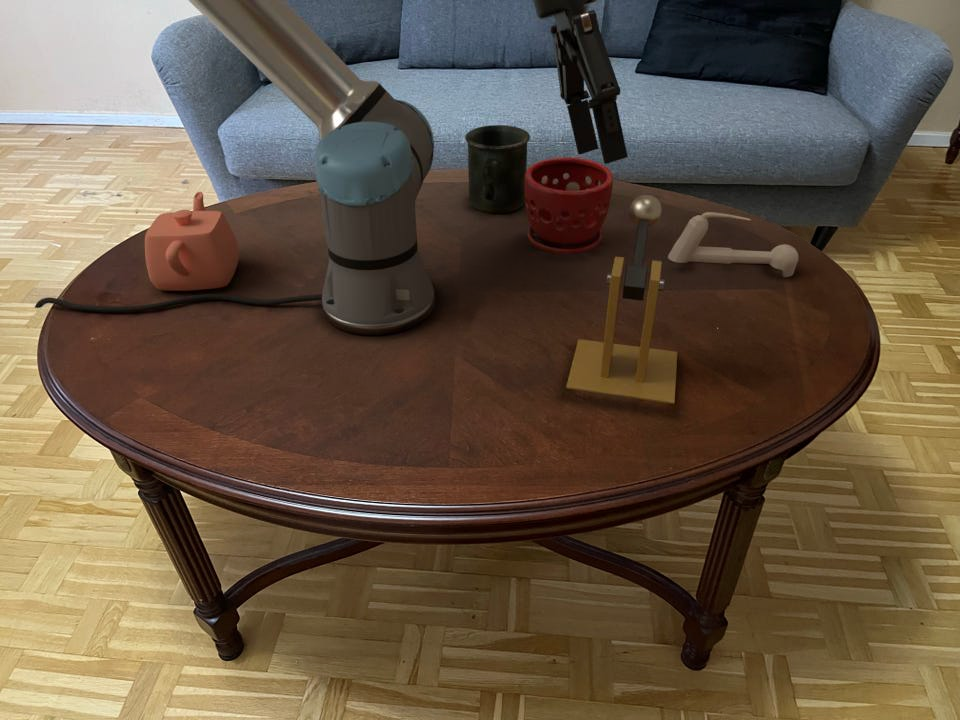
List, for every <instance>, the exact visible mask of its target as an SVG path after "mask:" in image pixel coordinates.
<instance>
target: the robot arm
mask: <svg viewBox="0 0 960 720" xmlns="http://www.w3.org/2000/svg"><path fill="white" fill-rule="evenodd" d="M532 1H533V5H534V8H535V12H536V16H537V18H538V19H540V20H545V19H549V18H552V17H555V23H556V24H553V25H550V29H549V30H550V31H549V32H550V34H551V39H552V42H553V49H554V56H555V64H556V68H557V78H558V86H559V95H560V98H561V99H562V101H564V103H565V104H566V107H567V113H568V116H569V121H570V125H571V129H572V133H573V138H574V142H575V146H576V151H577V154H578V155H584V154H586V153H589V152H592V151H593V152H594V151H596V150H598V149H599V146H600V150H601V156H602V159H603V160H602V161H603V163H604V165H608V164H611V163H613V162H617V161H620V160H623V159H626V158H628V151H627V146H626V142H625V136H624V132H623V128H622V123H621V118H620V112H619V108H618V103H617V100H618V96H620V95H621V87H620V85H619V83H618V79H617V76H616V73H615V71H614V67H613V65H612V62H611V59H610V56H609V53H608V50H607V47H606V44H605V41H604V38H603V36H602V33H601V30H600V26H599V22H598V15H597V12H596V11H595V9H591V10H588V11H586V9H585V7H587V6H588V5H591V4H594V3H596V2H598V0H532ZM188 2H189V3H190V4H192V6H194V8H196V10H198V12H200V14H202V15H203V16H204V17H205V18H206V19H207V20H208V21H209V22H210V23H211V24H212V25H213V27H215V28H216V29H218V31H219V32H220V33H221V34H222V35H223V36H224V37H225V38H226V39H227V40H228V41H229V42H230V43H231V44H233V46H235V47H236V48H237V50H239V51H240V52H241V54H242V55H244V57H246V58H247V59H248V60H249V61H250V62H251V63H252V64H253V65H254V67H255V68H257V69H258V70H259V71H260V72H261V73H262V74H263V75H264V76H265V77H266V78H267V79H268V80H269V81H270V82H271V83H272V84H273V85H274V86H275V87H276V88H277V89H278V90H279V91H280V92H281V93H282V94H284V96H286V97H287V99H288V100H290V102H292V103H293V104H294V106H296V107H297V108H298V109H299V110H300V111H301V112H302V114H304V115H305V116H306V117H307V118H308V119H309V120H310V121H311V122H312V123H313V124H314V125H315V126H316V128H317V132H318V133H317V134H318V143H317V145H316V147H315V150H314V163H315V164H314V172H315V173H314V178H315V182H316V184H317V189H318V194H319V202H320V208H321V214H322V220H323V227H324V234H325V240H326V245H327V252H328V264H327V268H326V274H325V278H324V284H323V289H322V292H321V293H318V294H308V295H307V294H306V295H296V296H295V295H294V296H287V297H281V298H269V299H266V298H265V299H264V298H261V299H260V298H251V297H250V298H249V297H245V296H239V295H232V294H225V293H205V294H204V293H203V294H195V295H189V296H183V297H178V298H174V299H169V300H165V301H161V302H155V303H149V304H140V305H126V306H125V305H124V306H123V305H120V306H117V305H115V306H114V305H113V306H112V305H111V306H110V305H92V304H79V303H72V302H69V301H66V300H62V299H60V298H57V297H50V296H49V297H43V298H41V299H39V300H38V301H37V302H36V303H35V305H34V308H35V309H40V308H42V307H43V306H45V305H46V304H53V305H56V306H60V307H63V308H66V309H70V310H74V311H83V312H99V313H135V312H136V313H137V312H147V311H155V310H160V309H164V308H170V307H173V306H178V305H181V304H188V303H192V302H198V301H210V300H211V301H212V300H217V301H219V300H221V301H231V302H236V303H241V304H247V305H254V306H277V305H283V304H284V305H285V304H291V303H292V304H293V303H303V302H312V301H313V302H314V301H321V305H322V311H323V315H324V318H325V319H326V321H327V322H328V323H329V324H331V325H332V326H333V327H335V328H337V329H339V330H341V331H344V332H347V333H350V334H354V335H355V334H356V335H363V336H379V335H380V336H381V335H382V336H383V335H388V334H394V333H399V332H403V331H405V330H408V329H410V328H413V327H415V326H416V325H419V324H421V323H422V322H423V321H424V320H426V319H427V318H428V317H429V316H430V315H431V314H432V312H433V310H434V309H435V305H436V303H435V302H436V301H435V288H434V286H433V283H432V280H431V278H430V276H429V273H428V271H427V269H426V266H425V264H424V262H423V260H422V257H421V255H420V253H419V248H418V232H417V231H418V230H417V218H416V200H417V197H418V196H419V193H420V190H421V188H422V186H423V184H424V181H425V179H426V177H427V176H428V174H429V171H430V170H431V168H432V165H433V161H434V155H435V154H434V151H435V137H434V133H433V130H432V127H431V125H430V122H429V120H428V119H427V118H426V117H425V115H424V113H422V112H421V110H419V108H417V107H416V106H415V105H413V104H411V103H409V102H408V101H406V100H401V99H396V98H394V96H392V95H391V94H390V92H388V91H387V89H386V88H385V87H384V86H383V85H382V84H381V83H380V82H378V81H377V80H375V81H373V80H362V79H361V78H359V76H357V75H356V73H355V72H354V71H353V70H352V69H351V68H350V67H349V66H348V65H347V64H346V63H345V62H344V61H343V60H342V59H341V58H340V57H339V56H338V54H336V53H335V52H334V50H333V49H332V48H331V47H329V45H328V44H327V43H325V41H324V40H323V39H322V38H321V37H320V36H319V35H318V34H317V33H316V32H315V30H313V28H311V26H309V24H307V22H306V21H305V20H304V19H303V18H302V17H301V16H300V15H299V14H298V13H297V12H296V11H295V10H294V9H293V8H292V7H291V6H290V5H289V3H287V2H286V0H188ZM585 85H586V88H587V89H586V90H585ZM590 98H591V99H590ZM591 111H592V112H591ZM592 114H593V118H592ZM593 119H594V122H593ZM594 123H595V126H594ZM595 128H596V132H597V134H596V132H595ZM596 135H597V136H596ZM597 137H598V138H597ZM597 139H598V140H597ZM598 142H599V144H598Z"/></svg>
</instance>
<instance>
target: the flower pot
mask: <svg viewBox="0 0 960 720" xmlns="http://www.w3.org/2000/svg"><path fill="white" fill-rule="evenodd" d="M565 174H568V177H567V178H565V177H564V175H565ZM544 177H546V181H545V182H543V181H542V180H543V178H544ZM587 177H589V178H590V180H591V181H590V183H588V182H587V180H586V178H587ZM556 179H557V182H556V183H554V181H555V180H556ZM570 183H576V184H577V185H578V187H579V190H567V186H568V184H570ZM599 183H600V185H599ZM613 184H614V175H613V173H612V171H611V170H610V168H608V167H607V166H605V164H604V165H603V164H602V163H599V162H597V161H594V160H590V159H586V158H580V157H571V156H569V157H568V156H567V157H553V158H546V159H544V160H543V159H542V160H540V161H538V162H535V163H533V164H532V165H530V166H529V167H527V171H526V174H525V203H524V204H525V210H526V211H525V212H526V216H527V219H528V222H529V224H530V226H529V227H528V230H527V237H528V240H529V242H530V243H531V244H532V245H533V246H535V247H536V248H538V249H541V250H542V251H546V252H550V253H553V254H554V253H555V254H564V255H565V254H568V255H570V254H571V255H572V254H581V253H585V252H588V251H591V250H593V249H595V248H596V247H598V246H599V245H600V243H601V242H602V237H603V233H602V230H601V229H602V226H603V225H604V223H605V221H606V218H607V215H608V213H609V210H610V204H611V199H612V195H613V187H614V186H613ZM537 237H538V238H537ZM538 239H539V240H541V241H542V242H543V243H541V242H539V241H538Z"/></svg>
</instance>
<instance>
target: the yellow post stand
mask: <svg viewBox="0 0 960 720" xmlns="http://www.w3.org/2000/svg"><path fill="white" fill-rule="evenodd" d="M662 263H663V262H662V261H661V260H652V262H651V267H650V275H649V282H648V288H647V295H646V303H645V309H644V315H643V323H642V329H641V335H640V344H639V346H637V345H629V344H628V345H627V344H620V343H615V340H616V332H617V331H616V330H617V324H618V313H619V306H620V305H619V304H620V299H621V298H620V297H621V289H622V282H623V273H624V265H625V257H624V256H615V257H614V260H613V264H612V269H611V273H610V272H609V273H608V272H607V275H606V276H607V277H606V280H605V281H606V283H605V287H609V293H608V301H607V308H606V309H607V310H606V317H605V318H606V320H605V329H604V338H603V341H597V340H590V339H589V340H588V339H583V338H578V339H577V343H576V348H575V351H574V355H573V360H572V363H571V367H570V371H569V374H568V380H567V382H566V386H565V388H566V389H567V390H573V391H581V392H585V393H586V392H588V393H595V394H601V395H607V396H608V395H609V396H613V397H614V396H615V397H622V398H627V399H628V398H629V399H635V400H643V401H650V402H656V403H663V404H669V405H675V404H676V402H675V401H676V387H677V386H676V383H677V369H678V368H677V366H678V351H674V350H666V349H659V348H651V341H652V335H653V328H654V322H655V321H654V320H655V314H656V308H657V303H658V296H659V293H664V287H665V279H664V278H663V279H662V278H661V273H662Z"/></svg>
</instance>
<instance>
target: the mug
mask: <svg viewBox="0 0 960 720" xmlns="http://www.w3.org/2000/svg"><path fill="white" fill-rule="evenodd" d="M464 140H465V142H466V143H467V167H468V172H467V173H468V175H467V176H468V202H469V203H470V205H471V206H472V207H473V208H474V209H475V210H477V211H479V212H481V213H482V212H483V213H488V214H507V213H511V212H514V211H517V210H519V209H520V208H522V207H523V206H524V204H525V174H526V171H527V170H528V167H527V166H528V165H527V164H528V142H529V141H530V140H531V136H530V133H529V132H528V131H527V130H525V129H523V128H520V127H517V126H512V125H505V124H504V125H503V124H492V125H484V126H479V127H476V128H473V129H471V130H469V131H468V132H467V133H466V134H465V137H464Z"/></svg>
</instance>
